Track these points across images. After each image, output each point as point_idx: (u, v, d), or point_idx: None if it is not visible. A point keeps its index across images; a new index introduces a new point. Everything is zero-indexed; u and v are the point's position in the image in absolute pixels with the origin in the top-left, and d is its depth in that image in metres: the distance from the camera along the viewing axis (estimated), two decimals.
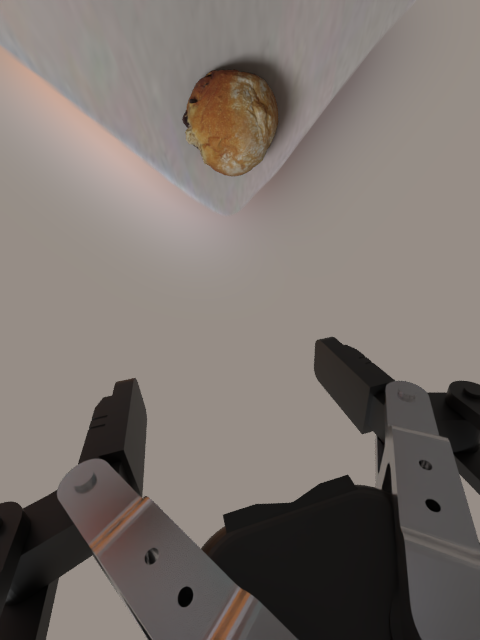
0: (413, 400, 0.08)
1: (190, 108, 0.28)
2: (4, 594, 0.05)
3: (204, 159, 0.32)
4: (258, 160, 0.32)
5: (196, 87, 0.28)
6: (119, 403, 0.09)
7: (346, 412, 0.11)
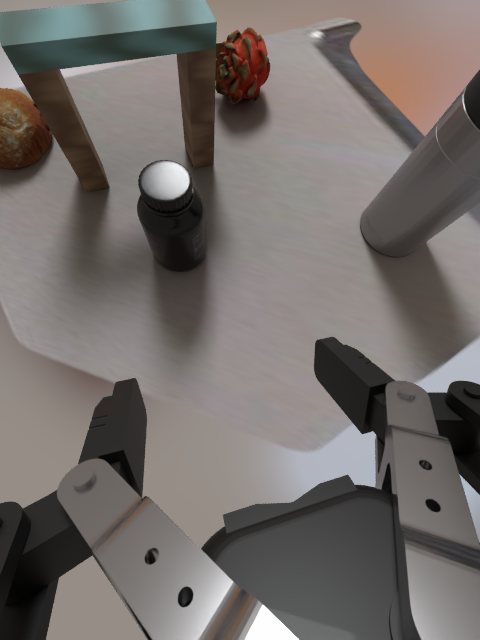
0: (413, 400, 0.08)
1: None
2: (4, 594, 0.05)
3: None
4: None
5: None
6: (119, 403, 0.09)
7: (346, 412, 0.11)
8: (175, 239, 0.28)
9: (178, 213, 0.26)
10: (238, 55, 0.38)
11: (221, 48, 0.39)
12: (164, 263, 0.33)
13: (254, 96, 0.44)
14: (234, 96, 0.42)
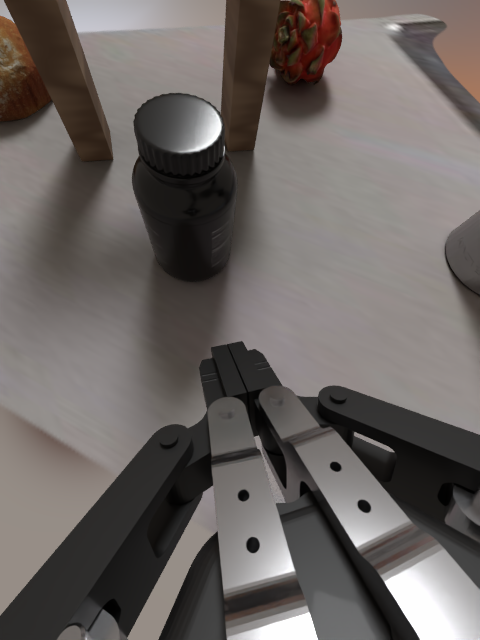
0: (278, 405, 0.09)
1: None
2: (162, 497, 0.07)
3: None
4: None
5: None
6: (224, 362, 0.11)
7: None
8: (185, 227, 0.17)
9: (194, 181, 0.15)
10: (305, 15, 0.29)
11: (284, 8, 0.30)
12: (167, 265, 0.23)
13: (315, 78, 0.35)
14: (291, 72, 0.33)
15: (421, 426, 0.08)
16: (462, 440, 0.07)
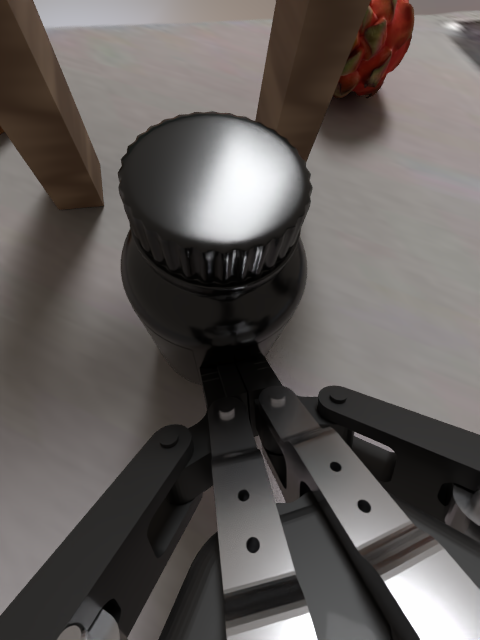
0: (278, 405, 0.09)
1: None
2: (163, 497, 0.07)
3: None
4: None
5: None
6: None
7: None
8: (218, 352, 0.09)
9: (245, 289, 0.07)
10: (371, 7, 0.21)
11: None
12: (178, 371, 0.15)
13: (370, 90, 0.27)
14: (342, 84, 0.25)
15: (420, 426, 0.08)
16: (462, 440, 0.07)
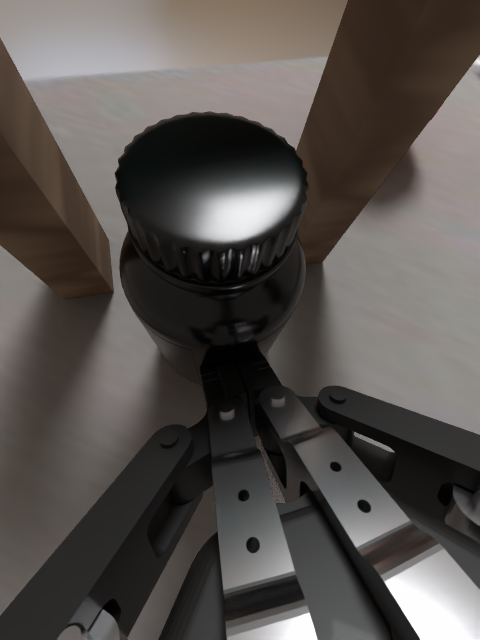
0: (278, 405, 0.09)
1: None
2: (162, 497, 0.07)
3: None
4: None
5: None
6: None
7: None
8: (217, 352, 0.09)
9: (242, 288, 0.07)
10: None
11: None
12: (179, 371, 0.15)
13: None
14: None
15: (420, 426, 0.08)
16: (462, 440, 0.07)
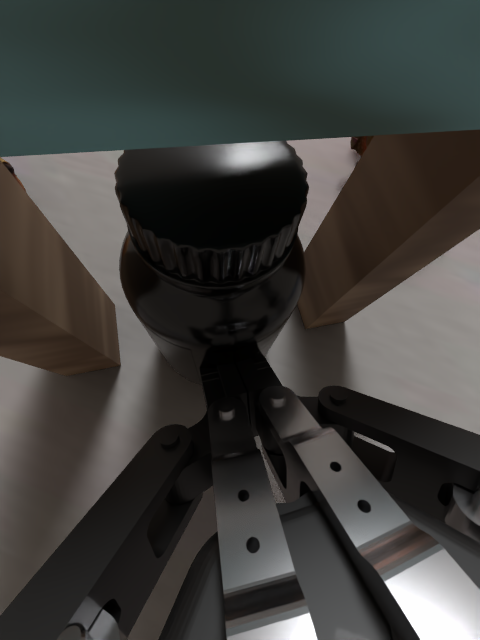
0: (278, 405, 0.09)
1: None
2: (162, 497, 0.07)
3: None
4: None
5: None
6: None
7: None
8: (216, 352, 0.09)
9: (242, 288, 0.07)
10: None
11: None
12: (178, 371, 0.15)
13: None
14: None
15: (421, 426, 0.08)
16: (463, 440, 0.07)
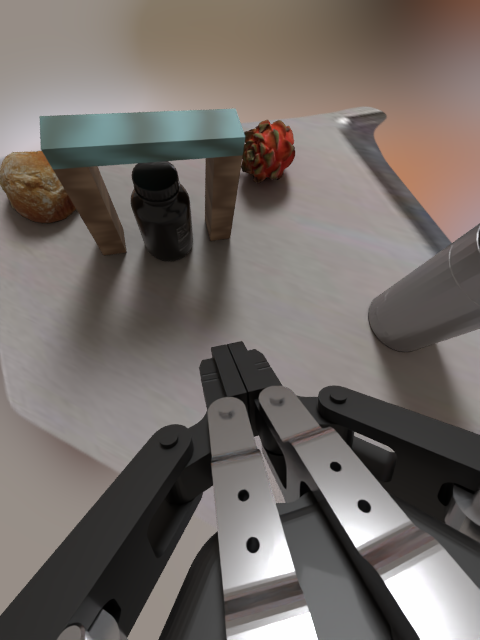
0: (278, 405, 0.09)
1: None
2: (162, 497, 0.07)
3: None
4: (0, 172, 0.36)
5: None
6: (224, 362, 0.11)
7: None
8: (160, 226, 0.32)
9: (163, 203, 0.30)
10: (265, 144, 0.40)
11: (250, 135, 0.41)
12: (152, 250, 0.37)
13: (277, 176, 0.46)
14: (258, 176, 0.44)
15: (420, 426, 0.08)
16: (463, 439, 0.07)
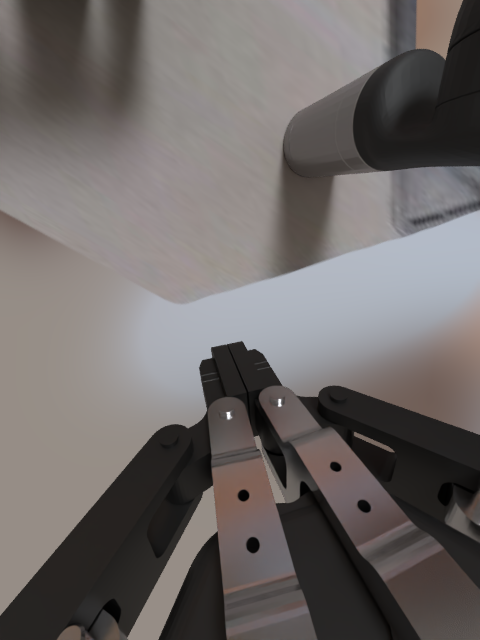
0: (278, 405, 0.09)
1: None
2: (162, 496, 0.07)
3: None
4: None
5: None
6: (224, 362, 0.11)
7: None
8: None
9: None
10: None
11: None
12: None
13: None
14: None
15: (421, 426, 0.08)
16: (462, 440, 0.07)
